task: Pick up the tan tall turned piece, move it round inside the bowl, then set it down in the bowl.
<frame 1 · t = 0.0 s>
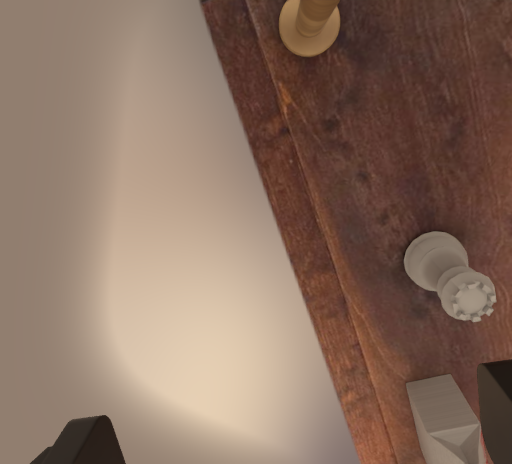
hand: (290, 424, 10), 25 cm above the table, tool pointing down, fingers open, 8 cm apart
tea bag: (434, 410, 39), on the table
tan tall turned piece: (308, 25, 30), on the table
rook chess piece: (431, 256, 35), on the table
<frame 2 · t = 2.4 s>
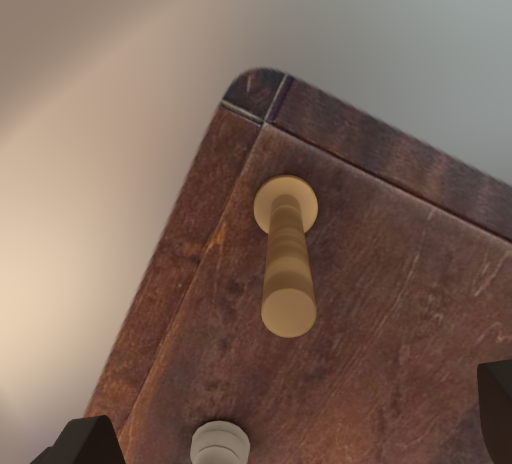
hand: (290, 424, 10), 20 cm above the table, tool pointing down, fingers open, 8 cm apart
tan tall turned piece: (285, 205, 29), on the table
rook chess piece: (221, 439, 35), on the table
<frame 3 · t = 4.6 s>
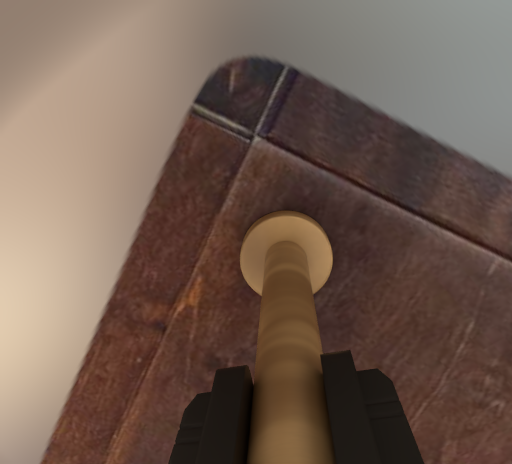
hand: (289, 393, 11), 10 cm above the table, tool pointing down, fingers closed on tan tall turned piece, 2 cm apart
tan tall turned piece: (285, 253, 20), on the table, touching gripper
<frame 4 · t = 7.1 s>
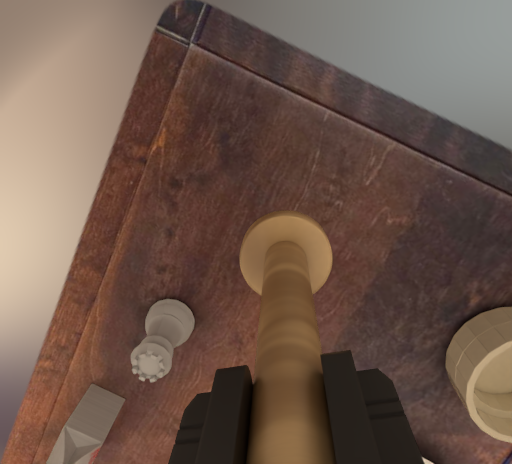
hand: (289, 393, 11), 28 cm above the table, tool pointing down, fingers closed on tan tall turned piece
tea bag: (97, 414, 46), on the table
bowl: (500, 354, 42), on the table
tan tall turned piece: (285, 252, 20), point 18 cm above the table, touching gripper
rook chess piece: (172, 317, 43), on the table
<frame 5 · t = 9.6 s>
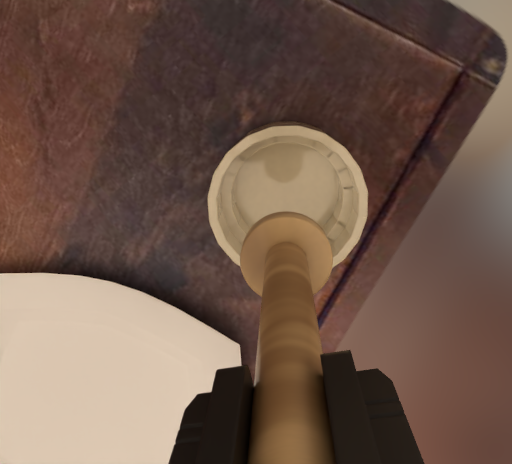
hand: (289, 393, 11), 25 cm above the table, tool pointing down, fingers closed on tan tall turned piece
plate: (95, 405, 41), on the table
bowl: (286, 190, 34), on the table
tan tall turned piece: (285, 253, 20), point 14 cm above the table, touching gripper
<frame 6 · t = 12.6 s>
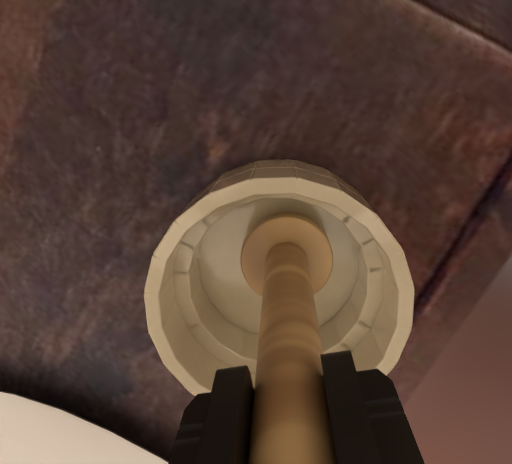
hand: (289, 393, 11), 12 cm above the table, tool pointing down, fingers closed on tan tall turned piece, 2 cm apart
bowl: (277, 261, 23), on the table
tan tall turned piece: (286, 254, 20), point 2 cm above the table, touching gripper
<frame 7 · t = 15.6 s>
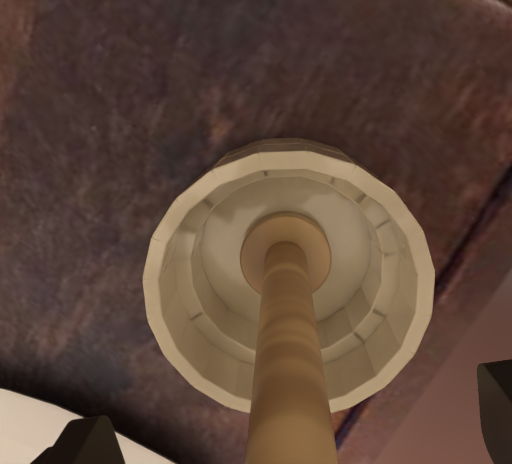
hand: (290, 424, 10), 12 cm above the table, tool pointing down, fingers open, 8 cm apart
bowl: (284, 247, 21), on the table
tan tall turned piece: (285, 252, 21), point 1 cm above the table, touching bowl
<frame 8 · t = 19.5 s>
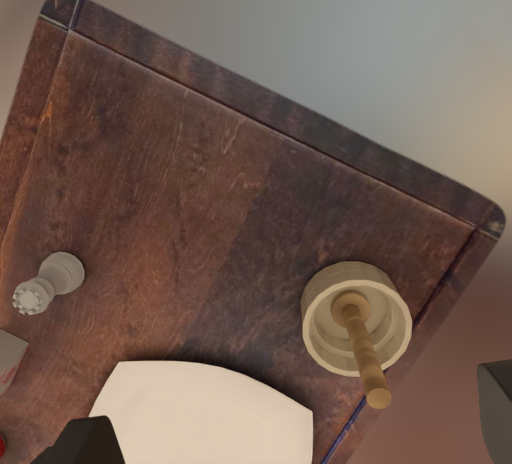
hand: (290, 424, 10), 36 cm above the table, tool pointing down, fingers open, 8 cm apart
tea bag: (5, 357, 52), on the table
plate: (197, 451, 55), on the table
bowl: (348, 304, 48), on the table
tan tall turned piece: (349, 307, 48), point 1 cm above the table, touching bowl
rook chess piece: (66, 269, 49), on the table
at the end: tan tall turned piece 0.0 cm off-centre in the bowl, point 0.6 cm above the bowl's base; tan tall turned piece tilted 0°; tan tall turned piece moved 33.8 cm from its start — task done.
